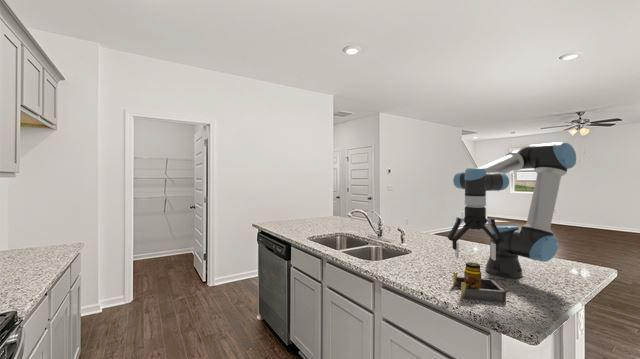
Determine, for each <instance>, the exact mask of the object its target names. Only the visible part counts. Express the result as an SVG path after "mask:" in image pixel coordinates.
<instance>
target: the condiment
mask: <svg viewBox="0 0 640 359" xmlns="http://www.w3.org/2000/svg"><path fill="white" fill-rule="evenodd" d="M463 277H464V282H465V283H466V288H477V289H481V278H482V271H481V265H480V264H479V263H478V262H469V261H468V262H466V263H465V269H464V276H463Z"/></svg>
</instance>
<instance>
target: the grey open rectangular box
mask: <svg viewBox="0 0 640 359" xmlns="http://www.w3.org/2000/svg"><path fill="white" fill-rule="evenodd" d="M452 274H453V276H452V286H453V287H455V288H460V299H462V300H473V301H481V302H482V301H483V302H484V301H485V302H496V303H507V291H505V290H504V288H502V287H501V286H500V285H499V284H498V283H497V282H496V281H495V280H494V279H492V278H482V277H481V289H477V288H466V283H465V282H464V277H465V276H458V272H457V271H453V272H452Z"/></svg>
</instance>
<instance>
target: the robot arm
mask: <svg viewBox="0 0 640 359" xmlns="http://www.w3.org/2000/svg"><path fill="white" fill-rule="evenodd" d="M576 164H577V153H576V151H575V149H574V147H573V146H572V145H571V144H570V143H569V142H565V141H564V142H561V141H560V142H559V141H558V142H557V141H556V142H555V141H554V142H549V143H540V144H539V143H538V144H530V145H526V146H523V147H520V148H518V149H515V150H511V151H510V152H508V153H506V154H505V156H504V157H501V158H498V159H496V160H493V161H491V162H489V163H487V164H484V165H482V166H479V167H471V168H470V167H469V168H466V169H465V172H463V171H461V172H458V173H455V175H454V176H453V178H452V180H453V185H454V186H455V188H456V189H460V190H461V189H462V190H464V205H465V206H464V218H462V217H456V218H455V223H454V225H453V226H452V229H450V232H449V234H448V236H447V239H448V240H449V241H452V250H454V257H455V258H456V259H460V253H459V252H460V243H459V240H460V239H461V238H462V237H463V236H464V235H465V233H466V232H468V231H469V230H478V231H481V230H482V231H483V232H484V233H485V234H486V235H487V237H489V240H490V244H489V246H490V247H489V249H490V250H489V256H488V260H487V262H486V263H485V271H486V272H488V273H490V274H492V275H495V276H498V277H504V278H511V279H513V278H514V279H517V278H521V277H523V269H522V266H521V264H520V261H519V260H520V259H519V257H522V258H526V259H530V260H533V261H537V262H543V263H545V262H549V261H551V260H552V259H553V258H554V257H555V256H556V254H557V252H558V248H559V244H558V240H557V238H556V237H555V236H554V232H553V230H552V229H551V227H552V220H553V216H554V212H555V207H556V202H557V198H558V192H559V189H560V184H561V180H562V177H563V176H565V175H567V172H568V169H572V168H573V167H574V166H575V165H576ZM527 169H528V170H529V169H533V170H534V172H536V179H535V184H534V188H533V193H532V195H531V196H532V197H531V201H530V206H529V211H528V215H527V220H526V223H525V224H523V225H521V228H520V227H519V226H517V225H496V220H495V219H494V218H493V217H489V218H487V216H486V214H487V208H486V205H487V199H486V198H487V192H489V191H490V192H492V191H493V192H494V191H495V192H499V191H503V190H506V189H507V188H508V186H509V185H510V178H509V177H508V175H507V174H508V173H511V172H512V171H514V172H515V171H518V172H519V171H520V170H527ZM462 223H465V224H464V225H463V226H462V228H461V229H460V230H459V227H460V226H461V224H462ZM487 223H488V224H489V225H490V227H491V228H490V230H489V229H488V228H487V226H486V225H487ZM458 230H459V231H458ZM457 231H458V232H457Z"/></svg>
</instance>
